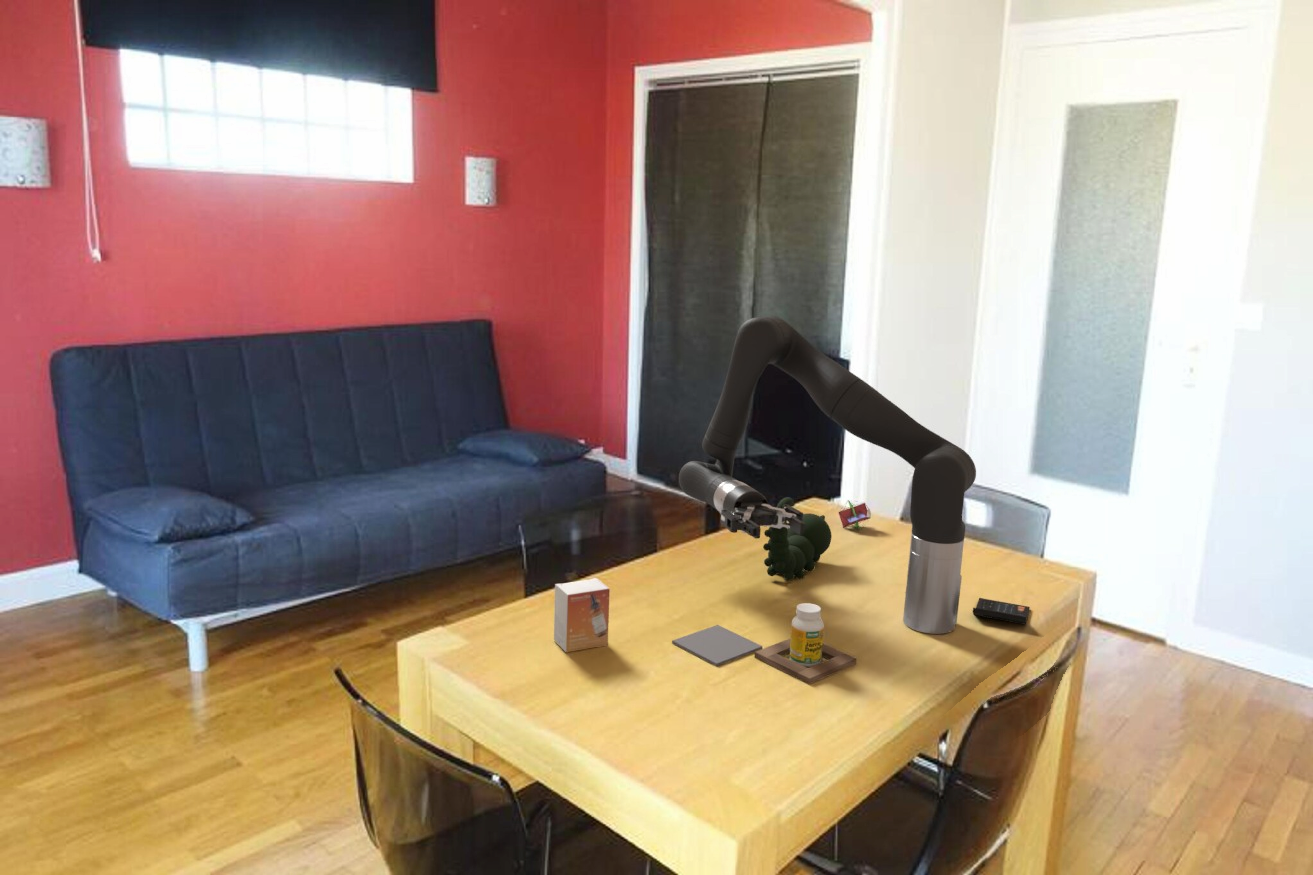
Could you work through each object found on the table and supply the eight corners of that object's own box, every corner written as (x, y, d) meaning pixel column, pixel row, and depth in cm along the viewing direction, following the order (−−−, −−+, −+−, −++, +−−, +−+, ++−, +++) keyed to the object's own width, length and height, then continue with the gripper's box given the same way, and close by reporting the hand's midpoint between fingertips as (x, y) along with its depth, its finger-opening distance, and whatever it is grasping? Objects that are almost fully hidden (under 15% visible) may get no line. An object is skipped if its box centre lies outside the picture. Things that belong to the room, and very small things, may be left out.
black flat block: (1029, 610, 192) (1031, 596, 191) (1024, 633, 181) (1026, 618, 181) (978, 601, 196) (980, 587, 195) (971, 623, 185) (973, 608, 184)
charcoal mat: (717, 627, 179) (717, 624, 178) (762, 648, 171) (762, 646, 170) (671, 643, 171) (672, 640, 171) (716, 666, 163) (716, 663, 163)
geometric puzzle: (835, 523, 233) (858, 498, 232) (828, 514, 239) (850, 489, 238) (858, 541, 234) (880, 515, 233) (850, 531, 241) (871, 506, 240)
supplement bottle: (806, 651, 170) (810, 598, 168) (828, 663, 166) (832, 610, 164) (782, 657, 167) (786, 604, 165) (803, 670, 163) (807, 616, 161)
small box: (565, 653, 166) (566, 595, 164) (553, 640, 171) (553, 583, 169) (609, 645, 170) (610, 588, 167) (595, 632, 175) (596, 576, 172)
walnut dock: (801, 639, 175) (801, 633, 175) (856, 663, 166) (856, 658, 166) (754, 657, 167) (754, 651, 167) (809, 684, 158) (809, 678, 158)
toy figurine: (793, 600, 196) (842, 555, 216) (796, 511, 191) (846, 473, 211) (750, 589, 201) (803, 546, 221) (752, 502, 196) (805, 466, 216)
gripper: (706, 487, 184) (745, 513, 169) (775, 482, 189) (818, 507, 174) (704, 525, 185) (742, 555, 171) (772, 519, 190) (814, 548, 176)
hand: (780, 531), depth 172 cm, fingers open, 8 cm apart
